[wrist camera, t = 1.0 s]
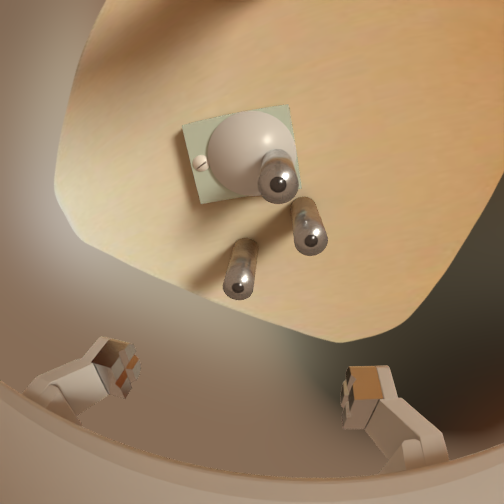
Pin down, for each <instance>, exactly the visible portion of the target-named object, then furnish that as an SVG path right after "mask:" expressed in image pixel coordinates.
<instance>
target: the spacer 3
mask: <svg viewBox="0 0 504 504" xmlns="http://www.w3.org/2000/svg"><path fill="white" fill-rule="evenodd" d="M290 210H291V218H292V226H293V235H294V243H295V247H296V249H297V250H298V251H299V252H300V253H302V254H304V255H307V256H313V255H317V254H319V253H321V252H322V251H323V250H324V249H325V248H326V246H327V242H328V237H327V234H326V231H325V228H324V226H323V223H322V220H321V217H320V215H319V212H318V209H317V207H316V204H315V202H314V201H313V200H312V199H310V198H308V197H299V198H297V199H295V200H294V201H293V203H292V204H291V209H290Z"/></svg>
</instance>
